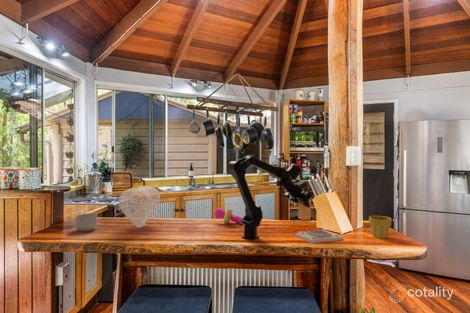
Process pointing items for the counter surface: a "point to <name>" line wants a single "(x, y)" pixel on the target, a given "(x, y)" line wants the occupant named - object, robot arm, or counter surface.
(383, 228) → the plant pot
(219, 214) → the toy
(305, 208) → the column brick
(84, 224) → the teacup
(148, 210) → the heart
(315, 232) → the baseplate
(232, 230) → the counter surface
